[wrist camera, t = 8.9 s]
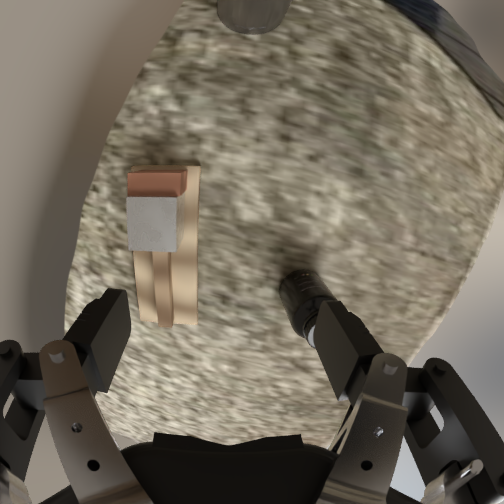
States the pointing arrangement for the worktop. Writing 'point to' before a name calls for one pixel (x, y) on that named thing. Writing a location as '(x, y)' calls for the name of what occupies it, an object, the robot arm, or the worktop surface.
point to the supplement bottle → (304, 301)
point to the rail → (179, 260)
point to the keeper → (155, 223)
